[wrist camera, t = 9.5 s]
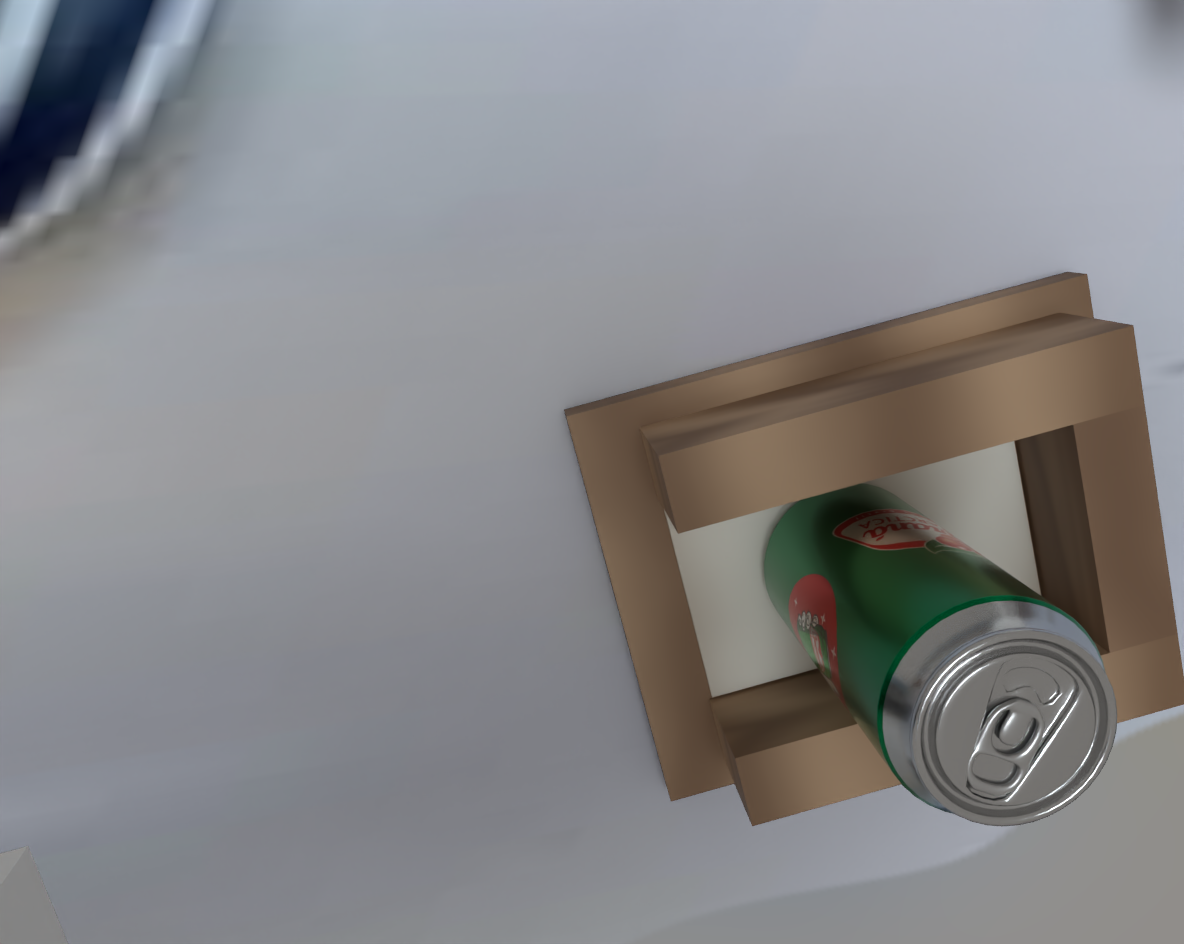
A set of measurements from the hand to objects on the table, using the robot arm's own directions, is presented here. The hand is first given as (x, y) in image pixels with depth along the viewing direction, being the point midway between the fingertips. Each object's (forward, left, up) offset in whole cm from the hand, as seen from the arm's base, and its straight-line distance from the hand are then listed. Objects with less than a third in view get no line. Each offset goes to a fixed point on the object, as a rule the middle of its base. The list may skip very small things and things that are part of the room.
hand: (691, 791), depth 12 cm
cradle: (+8, -7, -23) cm, 25 cm away
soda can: (+7, -6, -22) cm, 24 cm away
